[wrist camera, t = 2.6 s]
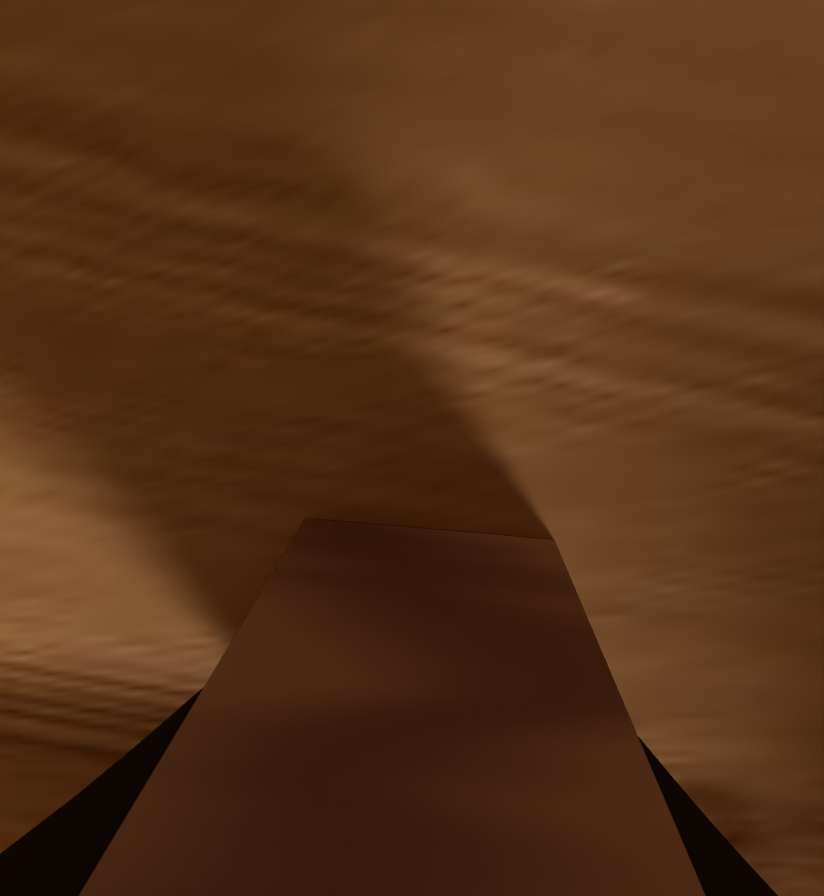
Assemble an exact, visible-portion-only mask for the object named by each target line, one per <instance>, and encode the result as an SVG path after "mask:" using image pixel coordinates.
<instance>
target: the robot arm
mask: <svg viewBox="0 0 824 896" xmlns="http://www.w3.org/2000/svg"><path fill="white" fill-rule="evenodd" d="M203 688H204V687H203ZM203 688H202V689H201V690H200V691H198V692H197V693H196V694H195V695H194V696H193V697H191V698H190V699H189V700H188V701H187V702H186V703H185V704H183V705H182V706H181V707H180V708H179V709H178V710H177V711H175V712H174V713H173V714H172V715H171V716H170V717H169V718H167V719H166V720H165V721H164V722H163V723H162V724H161V725H159V726H158V727H157V728H156V729H155V730H154V731H152V732H151V733H150V734H149V735H148V736H147V737H145V738H144V739H143V740H142V741H141V742H140V743H139V744H137V745H136V746H135V747H134V748H133V749H131V750H130V751H129V752H128V753H127V754H125V755H124V756H123V757H122V758H121V759H119V760H118V761H117V762H116V763H115V764H113V765H112V766H111V767H110V768H109V769H107V770H106V771H105V772H104V773H103V774H101V775H100V776H99V777H98V778H97V779H95V780H94V781H93V782H92V783H91V784H89V785H88V786H87V787H86V788H85V789H83V790H82V791H81V792H80V793H78V794H77V795H76V796H75V797H73V798H72V799H71V800H70V801H68V802H67V803H66V804H64V805H63V806H62V807H60V808H59V809H58V810H57V811H55V812H54V813H53V814H51V815H50V816H49V817H48V818H46V819H45V820H44V821H42V822H41V823H40V824H38V825H37V826H36V827H35V828H33V829H32V830H31V831H29V832H28V833H27V834H25V835H24V836H23V837H22V838H20V839H19V840H18V841H16V842H15V843H14V844H12V845H11V846H10V847H9V848H7V849H6V850H5V851H3V852H2V853H1V854H0V896H79V894H80V893H81V891H82V889H83V888H84V886H85V884H86V883H87V881H88V880H89V878H90V876H91V875H92V873H93V871H94V870H95V868H96V866H97V865H98V863H99V861H100V860H101V858H102V856H103V855H104V853H105V851H106V850H107V848H108V846H109V845H110V843H111V841H112V840H113V838H114V836H115V835H116V833H117V831H118V830H119V828H120V826H121V825H122V823H123V821H124V820H125V818H126V816H127V815H128V813H129V811H130V810H131V808H132V806H133V805H134V803H135V801H136V800H137V798H138V796H139V795H140V793H141V791H142V790H143V788H144V786H145V785H146V783H147V781H148V780H149V778H150V776H151V775H152V773H153V771H154V770H155V768H156V766H157V765H158V763H159V761H160V760H161V758H162V756H163V755H164V753H165V751H166V750H167V748H168V746H169V745H170V743H171V741H172V740H173V738H174V736H175V735H176V733H177V731H178V730H179V728H180V726H181V725H182V723H183V721H184V720H185V718H186V716H187V715H188V713H189V711H190V710H191V708H192V706H193V705H194V703H195V701H196V700H197V698H198V696H199V695H200V693H201V691H202V690H203ZM638 738H639V737H638ZM639 740H640V743H641V745H642V748H643V750H644V752H645V755H646V757H647V759H648V762H649V764H650V766H651V769H652V771H653V773H654V776H655V778H656V780H657V783H658V785H659V788H660V790H661V792H662V795H663V797H664V799H665V802H666V804H667V806H668V809H669V811H670V813H671V816H672V818H673V821H674V823H675V825H676V828H677V830H678V832H679V835H680V837H681V839H682V842H683V844H684V846H685V849H686V851H687V853H688V856H689V858H690V861H691V863H692V865H693V868H694V870H695V872H696V875H697V877H698V879H699V882H700V884H701V886H702V889H703V891H704V894H705V896H778V895H777V894H776V893H775V892H774V891H773V890H772V889H771V888H770V887H769V886H768V884H767V883H766V882H765V881H764V880H763V879H762V878H761V877H760V876H759V875H758V874H757V873H756V872H755V870H754V869H753V868H752V867H751V866H750V865H749V864H748V863H747V862H746V861H745V860H744V859H743V857H742V856H741V855H740V854H739V853H738V852H737V851H736V850H735V849H734V847H733V846H732V845H731V844H730V843H729V842H728V841H727V840H726V838H725V837H724V836H723V835H722V834H721V833H720V832H719V831H718V829H717V828H716V827H715V826H714V825H713V824H712V823H711V822H710V820H709V819H708V818H707V817H706V816H705V815H704V814H703V812H702V811H701V810H700V809H699V808H698V807H697V805H696V804H695V803H694V802H693V801H692V800H691V799H690V797H689V796H688V795H687V794H686V793H685V791H684V790H683V789H682V788H681V787H680V786H679V784H678V783H677V782H676V781H675V780H674V779H673V777H672V776H671V775H670V774H669V773H668V771H667V770H666V769H665V768H664V767H663V765H662V764H661V763H660V762H659V761H658V759H657V758H656V757H655V756H654V755H653V754H652V752H651V751H650V750H649V749H648V748H647V746H646V745H645V744H644V743H643V742H642V740H641V739H640V738H639Z"/></svg>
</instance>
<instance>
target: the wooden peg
mask: <svg viewBox="0 0 824 896" xmlns="http://www.w3.org/2000/svg"><path fill="white" fill-rule="evenodd" d="M79 896H705V894H704V891H703V889H702V886H701V884H700V882H699V879H698V877H697V875H696V872H695V870H694V868H693V865H692V863H691V861H690V858H689V856H688V853H687V851H686V849H685V846H684V844H683V842H682V839H681V837H680V835H679V832H678V830H677V828H676V825H675V823H674V821H673V818H672V816H671V813H670V811H669V809H668V806H667V804H666V802H665V799H664V797H663V795H662V792H661V790H660V788H659V785H658V783H657V780H656V778H655V776H654V773H653V771H652V769H651V766H650V764H649V762H648V759H647V757H646V755H645V752H644V750H643V748H642V745H641V743H640V740H639V738H638V736H637V733H636V731H635V729H634V726H633V724H632V722H631V719H630V717H629V715H628V712H627V710H626V707H625V705H624V703H623V700H622V698H621V696H620V693H619V691H618V689H617V686H616V684H615V682H614V679H613V677H612V675H611V672H610V670H609V667H608V665H607V663H606V660H605V658H604V656H603V653H602V651H601V649H600V646H599V644H598V642H597V639H596V637H595V634H594V632H593V630H592V627H591V625H590V623H589V620H588V618H587V616H586V613H585V611H584V609H583V606H582V604H581V602H580V599H579V597H578V594H577V592H576V590H575V587H574V585H573V583H572V580H571V578H570V576H569V573H568V571H567V569H566V566H565V564H564V561H563V559H562V557H561V554H560V552H559V550H558V547H557V545H556V543H555V540H551V539H539V538H528V537H516V536H505V535H493V534H482V533H470V532H459V531H447V530H436V529H424V528H413V527H401V526H390V525H378V524H367V523H355V522H344V521H332V520H321V519H309V518H305V520H304V521H303V523H302V525H301V526H300V528H299V530H298V531H297V533H296V535H295V536H294V538H293V540H292V541H291V543H290V545H289V546H288V548H287V550H286V551H285V553H284V555H283V556H282V558H281V560H280V561H279V563H278V565H277V566H276V568H275V570H274V571H273V573H272V575H271V576H270V578H269V580H268V581H267V583H266V585H265V586H264V588H263V590H262V591H261V593H260V595H259V596H258V598H257V600H256V601H255V603H254V605H253V606H252V608H251V610H250V611H249V613H248V615H247V616H246V618H245V620H244V621H243V623H242V625H241V626H240V628H239V630H238V631H237V633H236V635H235V636H234V638H233V640H232V641H231V643H230V645H229V646H228V648H227V650H226V651H225V653H224V655H223V656H222V658H221V660H220V661H219V663H218V665H217V666H216V668H215V670H214V671H213V673H212V675H211V676H210V678H209V680H208V681H207V683H206V685H205V686H204V688H203V690H202V691H201V693H200V695H199V696H198V698H197V700H196V701H195V703H194V705H193V706H192V708H191V710H190V711H189V713H188V715H187V716H186V718H185V720H184V721H183V723H182V725H181V726H180V728H179V730H178V731H177V733H176V735H175V736H174V738H173V740H172V741H171V743H170V745H169V746H168V748H167V750H166V751H165V753H164V755H163V756H162V758H161V760H160V761H159V763H158V765H157V766H156V768H155V770H154V771H153V773H152V775H151V776H150V778H149V780H148V781H147V783H146V785H145V786H144V788H143V790H142V791H141V793H140V795H139V796H138V798H137V800H136V801H135V803H134V805H133V806H132V808H131V810H130V811H129V813H128V815H127V816H126V818H125V820H124V821H123V823H122V825H121V826H120V828H119V830H118V831H117V833H116V835H115V836H114V838H113V840H112V841H111V843H110V845H109V846H108V848H107V850H106V851H105V853H104V855H103V856H102V858H101V860H100V861H99V863H98V865H97V866H96V868H95V870H94V871H93V873H92V875H91V876H90V878H89V880H88V881H87V883H86V884H85V886H84V888H83V889H82V891H81V893H80V894H79Z"/></svg>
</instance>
